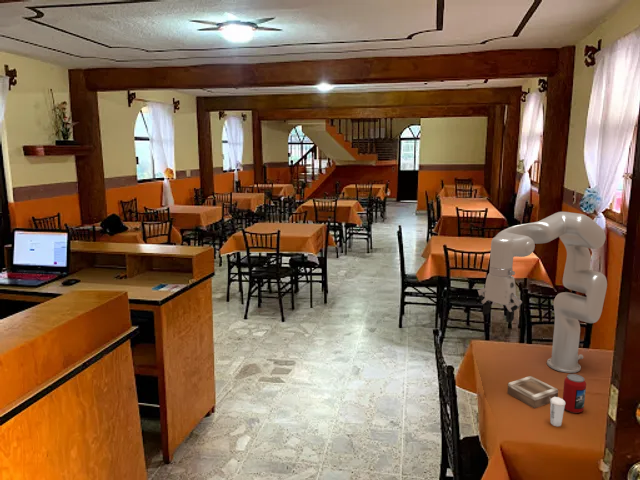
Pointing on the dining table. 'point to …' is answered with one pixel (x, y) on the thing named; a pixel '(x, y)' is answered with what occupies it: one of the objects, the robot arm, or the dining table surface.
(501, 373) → the dining table surface
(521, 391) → the white square tray
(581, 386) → the beverage can
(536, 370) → the dining table surface
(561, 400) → the milkshake
